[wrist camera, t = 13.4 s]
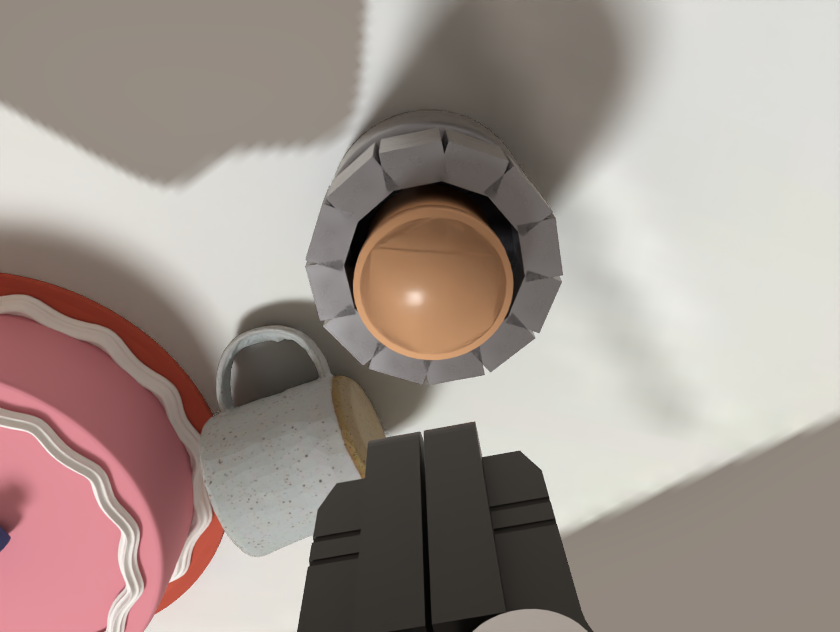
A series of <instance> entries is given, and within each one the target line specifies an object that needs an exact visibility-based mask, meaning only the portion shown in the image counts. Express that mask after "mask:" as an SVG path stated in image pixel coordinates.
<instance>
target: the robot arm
mask: <svg viewBox="0 0 840 632" xmlns="http://www.w3.org/2000/svg"><path fill="white" fill-rule="evenodd" d="M313 540H314V543H312V546H311V552H310V558H309V563H310V567H308V570H307V576H306V582H305V588H304V594H303V600H302V606H301V612H300V618H299V624H298V630H297V632H593V631H592V629H591V628H590V627H589V625H588V623H587V622H586V620H585V618H584V616H583V613H582V611H581V607H580V604H579V600H578V597H577V593H576V590H575V587H574V583H573V579H572V576H571V572H570V569H569V565H568V562H567V558H566V555H565V551H564V548H563V544H562V541H561V537H560V534H559V530H558V527H557V524H556V520H555V516H554V513H553V509H552V505H551V502H550V500H549V495H548V491H547V488H546V484H545V481H544V477H543V474H542V470H541V469H540V468H538V467H537V466H536V465H535V464H534V463H533V462H532V461H531V460H530V459H528V458H527V457H526V456H525V455H524V454H523V453H522V452H521V451H515V452H510V453H504V454H498V455H493V456H487V457H482V454H481V449H480V443H479V438H478V433H477V428H476V423H475V422H470V423H464V424H459V425H453V426H448V427H442V428H436V429H431V430H425V431H424V441H423V438H422V435H421V432H415V433H410V434H404V435H398V436H393V437H387V438H382V439H376V440H371V441H369V442H368V447H367V459H366V471H365V478H363V479H358V480H352V481H346V482H341V483H336V485H335V486H334V487H333V489H332V490H331V492H330V493H329V494H328V496H327V497H326V499H325V500H324V501H323V503H322V504H321V505H320V507H319V508H318V510H317V516H316V522H315V528H314V534H313Z"/></svg>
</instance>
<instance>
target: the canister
mask: <svg viewBox="0 0 840 632" xmlns="http://www.w3.org/2000/svg"><path fill="white" fill-rule="evenodd" d="M420 185H441V186H446V187H449V188H453V189H455V190H457V191H460V192H461V193H463V194H465V195H466V196H468V197H469V198H470V199H472V200H473V201H474V202H475V203H476V204H477V205H478V206H479V207H480V209H481V210H482V211H483V213H484V215H485V216H486V218H487V220H488V223H489V225H490V228H491V229H492V230H493V231H494V233H495V234H496V235H497V237H498V238H499V239H500V241H501V243H502V245H503V246H504V248H505V251H506V254H507V256H508V259H509V262H510V264H511V269H512V273H513V295H512V300H511V304H510V307H509V310H508V312H507V314H506V316H505V318H504V320H503V322H502V323H501V325H500V326H499V328H498V329H497V330H496V331H495V333H494V334H493V335H492V336H491V337H490V338H489V339H488V340H486V341H485V342H484V343H483V344H481V345H480V346H478V347H477V348H475V349H473V350H471V351H469V352H468V353H465V354H462V355H460V356H457V357H453V358H449V359H442V360H423V359H416V358H412V357H407V356H405V355H402V354H399V353H397V352H395V351H393V350H391V349H389V348H388V347H386V346H385V345H384V344H382V343H381V342H380V341H379V340H377V339H376V338H375V337H374V336H373V335H372V334H371V332H370V331H369V330H368V329H367V327H366V326H365V324H364V323H363V321H362V319H361V317H360V315H359V313H358V310H357V307H356V304H355V299H354V293H353V280H354V272H355V267H356V263H357V259H358V256H359V253H360V251H361V248H362V246H363V245H364V243H365V241H366V239H367V234H368V230H369V227H370V224H371V222H372V219H373V218H374V216H375V214H376V213H377V211H378V210H379V209H380V207H381V206H382V205H383V204H384V203H385V202H386V201H387V200H388V199H390V198H391V197H392V196H394V195H395V194H397V193H399V192H401V191H403V190H405V189H408V188H411V187H415V186H420ZM306 260H307V263H306V266H305V267H306V271H307V275H308V278H309V282H310V286H311V289H312V293H313V297H314V301H315V304H316V308H317V312H318V315H319V319H320V321H323V320H325V321H324V325H323V327H324V328H325V329H326V330H327V331H328V332H329V333H330V334H331V335H332V336H333V337H334V338H335V339H336V340H337V341H338V342H339V343H340V344H341V345H343V346H344V347H345V348H346V349H347V350H348V351H349V352H350V353H351V354H352V355H353V356H354V357H355V358H356V359H357V360H358V361H359V362H360V363H361V364H362V365H365V364H366V363H367V362H368V361H369V369H371V370H374V371H377V372H381V373H384V374H387V375H391V376H394V377H398V378H401V379H404V380H408V381H411V382H415V383H418V384H421V385H423V382H424V380H425V377H426V375H427V379H428V383H429V385H433V384H438V383H444V382H449V381H454V380H460V379H465V378H471V377H476V376H482V375H485V374H484V369H483V365H484V366H485V367H486V368H487V369H488V370H489V371H490V372H492V371H493V370H494V369H496V368H497V367H498V366H500V365H501V364H502V363H503V362H505V361H506V360H507V359H509V358H510V357H511V356H513V355H514V354H515V353H517V352H518V351H519V350H520V349H522V348H523V347H524V346H526V345H527V344H528V343H530V342H531V341H532V340H534V339H535V336H534V333H533V331H534V332H537V333H540V331H541V328H542V326H543V324H544V321H545V319H546V317H547V315H548V312H549V310H550V308H551V305H552V303H553V301H554V299H555V296H556V294H557V292H558V289H559V287H560V285H561V283H562V280H561V279H560V277H559V276H561V275H563V272H562V264H561V256H560V249H559V241H558V234H557V226H556V218H555V217H554V215H553V214H552V210H551V209H550V207H549V206H548V204H547V203H546V201H545V200H544V198H543V197H542V195H541V194H540V192H539V191H538V190H537V189H536V187H535V186H534V185H533V184H532V183H531V181H530V180H529V179H528V178H527V177H526V175H525V174H524V172H523V170H522V169H521V167H520V166H519V164H518V163H517V161H516V160H515V158H514V157H513V155H512V154H511V152H510V151H509V150H508V148H507V147H506V145H505V144H504V143H503V142H502V141H501V140H500V139H499V138H498V137H497V136H496V135H495V134H493V133H492V132H491V131H490V130H488V129H487V128H486V127H484V126H483V125H481V124H479V123H478V122H476V121H474V120H472V119H469V118H467V117H465V116H462V115H459V114H455V113H451V112H446V111H439V110H419V111H412V112H407V113H403V114H399V115H396V116H393V117H391V118H389V119H386V120H384V121H382V122H380V123H379V124H377V125H375V126H374V127H372V128H371V129H369V130H368V131H367V132H366V133H364V134H363V135H362V136H361V137H360V138H359V139H358V140H357V141H356V142H355V143H354V144H353V145H352V146H351V148H350V149H349V150H348V152H347V153H346V154H345V156H344V157H343V159H342V161H341V163H340V165H339V167H338V169H337V172H336V174H335V177H334V179H333V181H332V183H331V186H329V188H328V190H327V193H326V195H325V198H324V201H323V203H322V206H321V210H320V213H319V216H318V220H317V223H316V226H315V230H314V233H313V236H312V240H311V243H310V246H309V250H308V253H307V256H306Z"/></svg>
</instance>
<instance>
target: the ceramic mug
mask: <svg viewBox="0 0 840 632" xmlns="http://www.w3.org/2000/svg"><path fill="white" fill-rule="evenodd" d="M284 339H288V340H291V339H292V340H294V341H295V342H297V343H298V344H299V345H300V346H301V347H303V348H304V349H305V350H306V351H307V353H308V355H309V356H310V358H311V359H312V361H313V363H314V364H315V367H316V370H317V371H318V373H319V378H318V379H317V380H314V381H311V382H306V383H304V384H301V385H299V386H296V387H293V388H289V389H286V390H285V391H284V392H281V393H278V394H275V395H272V396H268V397H265V398H261V399H258V400H255V401H253V402H250V403H248V404H245V405H242V406H239V407H235V406H234V404H233V400H232V396H231V387H230V379H231V368H232V364H233V360H234V358H235V356H236V354H237V353H238V352H239V351H240V350H242V349H243V348H244V347H247V346H250V345H253V344H256V343H259V342H263V341H268V340H273V341H276V342H279V341H282V340H284ZM216 393H217V401H218V406H219V410H220V413H219V414H217V415H215V416H213V417H211V418H210V419H209V420H208V421H207V422H206V423H205V425H204V427H203V429H202V433H201V436H200V462H201V470H202V475H203V479H204V484H205V487H206V489H207V492H208V496H209V499H210V502H211V504H212V507H213V510H214V512H215V514H216V516H217V518H218V520H219V522H220V524H221V525H222V527H223V529H224V531H225V532H226V534H227V535H228V536H229V538H230V539H231V540H232V541H233V542H234V544H235V545H236V546H237V547H238V548H239V549H241V550H242V551H243V552H244V553H246V554H248V555H250V556H254V557H260V556H265V555H267V554H270V553H272V552H274V551H276V550H278V549H280V548H283V547H285V546H288V545H290V544H292V543H294V542H297V541H299V540H302V539H304V538H306V537H309V536H311V535H313V534H314V528H315V522H316V516H317V510H318V508H319V507H320V505H321V504H322V503H323V501H324V500H325V499H326V497H327V496H328V494H329V493H330V492H331V490H332V489H333V487H334V486H335V485H336V483H341V482H346V481H352V480H358V479H363V478H365V471H366V459H367V447H368V442H369V441H371V440H376V439H382V438H386V437H385V434H384V431H383V428H382V426H381V424H380V421H379V419H378V416H377V414H376V412H375V410H374V408H373V406H372V404H371V402H370V400H369V399H368V397H367V395H366V394H365V392H364V391H363V389H362V388H361V387H360V386H359V385H358V383H356V382H355V381H354V380H352V379H351V378H348V377H346V376H341V375H338V376H334V375H332V374H331V372H330V369H329V366H328V362H327V360H326V358H325V356H324V355H323V353H322V352H321V350H320V349H319V348H318V346H317V345H316V343H315V342H314V341H313V340H312V339H311V338H309V337H308V336H307V335H306V334H304V333H302V332H301V331H300V330H297V329H294V328H291V327H287V326H279V325H272V326H265V327H258V328H255V329H252V330H249V331H246V332H244V333H242V334H240V335H239V336H237V337H236V338H234V339H233V340H232V341H231V343H230V344H229V345H228V346H227V347H226V349H225V350H224V352H223V354H222V357H221V359H220V362H219V365H218V369H217V376H216Z"/></svg>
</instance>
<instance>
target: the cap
mask: <svg viewBox="0 0 840 632" xmlns="http://www.w3.org/2000/svg"><path fill="white" fill-rule="evenodd" d="M353 293H354V299H355V304H356V307H357V310H358V313H359V315H360V317H361V319H362V321H363V323H364V324H365V326H366V327H367V329H368V330H369V331H370V332H371V334H372V335H373V336H374V337H375V338H376V339H377V340H379V341H380V342H381V343H382V344H384V345H385V346H386V347H388V348H389V349H391V350H393V351H395V352H397V353H399V354H402V355H405V356H407V357H412V358H416V359H423V360H442V359H449V358H453V357H457V356H460V355H462V354H465V353H468V352H469V351H471V350H473V349H475V348H477V347H478V346H480V345H481V344H483V343H484V342H485V341H486V340H488V339H489V338H490V337H491V336H492V335H493V334H494V333H495V331H496V330H497V329H498V328H499V326H500V325H501V323H502V322H503V320H504V318H505V316H506V314H507V312H508V310H509V307H510V304H511V300H512V295H513V273H512V269H511V264H510V262H509V259H508V256H507V254H506V251H505V248H504V246H503V245H502V243H501V241H500V239H499V238H498V237H497V235H496V234H495V233H494V231H493V230H492V229H491V228H490V225H489V223H488V220H487V218H486V216H485V215H484V213H483V211H482V210H481V209H480V207H479V206H478V205H477V204H476V203H475V202H474V201H473V200H472V199H470V198H469V197H468V196H466V195H465V194H463V193H461V192H460V191H457V190H455V189H453V188H449V187H446V186H441V185H420V186H415V187H411V188H408V189H405V190H403V191H401V192H399V193H397V194H395V195H394V196H392V197H391V198H390V199H388V200H387V201H386V202H385V203H384V204H383V205H382V206H381V207H380V209H379V210H378V211H377V213H376V214H375V216H374V218H373V219H372V222H371V224H370V227H369V230H368V234H367V239H366V241H365V243H364V245H363V246H362V248H361V251H360V253H359V256H358V259H357V263H356V267H355V272H354V280H353Z"/></svg>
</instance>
